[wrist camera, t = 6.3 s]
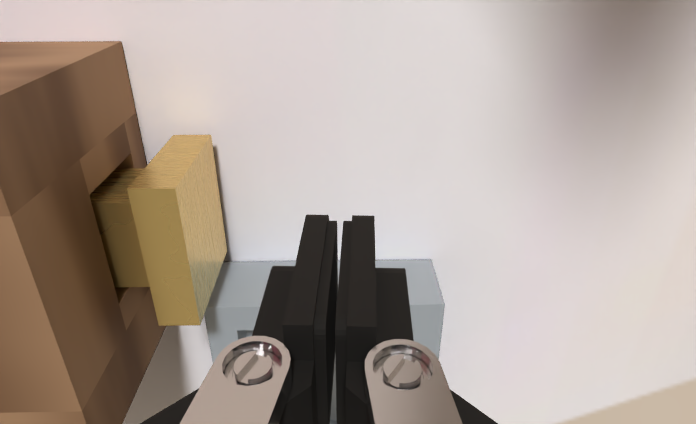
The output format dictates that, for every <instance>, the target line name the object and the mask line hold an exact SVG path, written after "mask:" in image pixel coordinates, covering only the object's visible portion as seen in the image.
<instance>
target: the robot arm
mask: <svg viewBox="0 0 696 424" xmlns="http://www.w3.org/2000/svg"><path fill="white" fill-rule="evenodd" d="M335 358H336V415H337V424H498V423H496V422H495V421H493V420H492V419H491V418H489V417H488V416H486V415H485V414H484V413H482V412H481V411H479V410H478V409H477V408H475V407H474V406H472V405H471V404H470V403H468V402H467V401H466V400H464V399H463V398H461V397H460V396H459V395H457V394H456V393H454V392H453V391H452V390H450V388H449V386H448V383H447V380H446V378H445V375H444V372H443V369H442V367H441V364H440V362H439V360H438V358H437V357H436V355H435V354H434V353H433V352H432V351H431V350H430V349H429V348H428V347H426V346H424V345H422V344H420V343H418V342H415V341H414V339H413V330H412V321H411V312H410V304H409V295H408V286H407V277H406V270H405V268H375V230H374V216H353V215H352V221H344V222H343V234H342V247H341V259H340V271H339V283H338V257H337V221H329V216H328V215H306V218H305V222H304V227H303V232H302V236H301V241H300V245H299V250H298V255H297V259H296V264H295V266H272V268H271V271H270V274H269V278H268V281H267V285H266V288H265V292H264V295H263V299H262V302H261V306H260V309H259V313H258V316H257V320H256V323H255V327H254V330H253V334H252V336H250V337H245V338H241V339H239V340H237V341H234V342H232V343H231V344H229V345H228V346H227V347H225V348H224V349H223V350H222V351H221V352H220V354H219V355H218V356H217V358H216V359H215V361H214V363H213V365H212V367H211V368H210V370H209V372H208V374H207V376H206V377H205V379H204V381H203V383H202V384H201V386H200V388H199V389H197V390H196V391H194V392H192V393H191V394H189V395H187V396H186V397H184V398H182V399H181V400H179V401H177V402H176V403H174V404H172V405H171V406H169V407H167V408H166V409H164V410H162V411H161V412H159V413H157V414H156V415H154V416H152V417H151V418H149V419H147V420H146V421H144V422H142V423H141V424H330V415H331V402H332V389H333V376H334V363H335Z"/></svg>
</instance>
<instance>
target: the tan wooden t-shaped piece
mask: <svg viewBox="0 0 696 424" xmlns="http://www.w3.org/2000/svg"><path fill="white" fill-rule="evenodd" d="M89 196H90V200H91V203H92V207H93V211H94V214H95V218H96V222H97V225H98V229H99V233H100V236H101V240H102V243H103V247H104V251H105V254H106V258H107V262H108V265H109V269H110V273H111V276H112V280H113V284H114V287H150V290H151V294H152V299H153V303H154V307H155V312H156V316H157V320H158V325H159V326H174V325H200V324H201V322H202V319H203V316H204V313H205V311H206V308H207V305H208V302H209V299H210V297H211V294H212V291H213V288H214V286H215V283H216V280H217V277H218V275H219V272H220V269H221V266H222V264H223V261H224V258H225V255H226V252H227V247H226V240H225V233H224V225H223V218H222V211H221V203H220V196H219V189H218V182H217V174H216V167H215V160H214V153H213V145H212V138H211V135H173V136H172V137H171V138H170V140H169V141H168V142H167V143H166V144H165V145H164V147H163V148H162V149H161V150H160V151H159V152H158V154H157V155H156V156H155V157H154V158H153V159H152V160H151V162H150V163H149V164H148V165H147V166H146V167H145V168H124V169H115V170H114V171H113V172H112V173H111V174H110V175H109V176H108V177H107V178H106V179H105V180H104V181H103V182H102V183H101V184H100V185H99V186H98V187H97V188H96V189H95V190H94V191H93V192H92V193H91V194H90V195H89Z"/></svg>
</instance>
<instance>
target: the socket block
mask: <svg viewBox="0 0 696 424" xmlns="http://www.w3.org/2000/svg"><path fill="white" fill-rule="evenodd" d="M146 166H147V164H146V159H145V154H144V149H143V144H142V140H141V135H140V130H139V125H138V120H137V115H136V111H135V106H134V101H133V96H132V91H131V86H130V82H129V77H128V72H127V67H126V62H125V57H124V53H123V48H122V43H121V41H104V42H0V424H122V423H123V421H124V418H125V416H126V414H127V412H128V409H129V407H130V405H131V403H132V401H133V398H134V396H135V394H136V392H137V389H138V387H139V385H140V383H141V381H142V378H143V376H144V374H145V372H146V369H147V367H148V365H149V363H150V361H151V358H152V356H153V354H154V352H155V349H156V347H157V345H158V343H159V341H160V338H161V336H162V334H163V332H164V330H165V327H166V326H159V325H158V320H157V316H156V312H155V307H154V303H153V299H152V294H151V290H150V287H114V284H113V280H112V276H111V273H110V269H109V265H108V262H107V258H106V254H105V251H104V247H103V243H102V240H101V236H100V233H99V229H98V225H97V222H96V218H95V214H94V211H93V207H92V203H91V200H90V196H89V195H90V194H91V193H92V192H93V191H94V190H95V189H96V188H97V187H98V186H99V185H100V184H101V183H102V182H103V181H104V180H105V179H106V178H107V177H108V176H109V175H110V174H111V173H112V172H113V171H114V170H115V169H124V168H145V167H146Z"/></svg>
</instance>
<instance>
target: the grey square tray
mask: <svg viewBox="0 0 696 424" xmlns="http://www.w3.org/2000/svg"><path fill="white" fill-rule="evenodd" d="M295 264H296V261H252V262H223V264H222V266H221V269H220V272H219V275H218V277H217V280H216V283H215V286H214V288H213V291H212V294H211V297H210V299H209V302H208V305H207V308H206V311H205V313H204V315H205V321H206V326H207V332H208V338H209V343H210V349H211V355H212V361H213V363H214V361H215V359H216V358H217V356H218V355H219V354H220V352H221V351H222V350H223V349H224V348H225V347H227V346H228V345H229V344H231V343H232V342H234V341H237V340H239V339H241V338H245V337H250V336H252V334H253V330H254V327H255V323H256V320H257V316H258V313H259V309H260V306H261V302H262V299H263V295H264V292H265V288H266V285H267V281H268V278H269V274H270V271H271V268H272V266H295ZM375 268H405V270H406V277H407V286H408V295H409V304H410V312H411V321H412V330H413V339H414V341H415V342H418V343H420V344H422V345H424V346H426V347H428V348H429V349H430V350H431V351H432V352H433V353H434V354H435V355H436V357H437V358H438V360H439V351H440V342H441V333H442V325H443V316H444V307H445V304H444V300H443V297H442V293H441V290H440V287H439V283H438V280H437V277H436V273H435V270H434V267H433V263H432V260H431V259H419V260H375ZM339 271H340V260H338V283H339ZM330 424H337V415H336V358H335V363H334V376H333V389H332V402H331V415H330Z"/></svg>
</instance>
